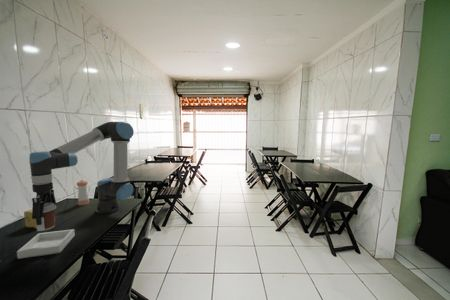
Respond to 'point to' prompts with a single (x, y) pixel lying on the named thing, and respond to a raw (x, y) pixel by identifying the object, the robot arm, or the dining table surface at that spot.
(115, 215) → the dining table surface
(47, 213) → the coffee cup
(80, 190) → the salt shaker
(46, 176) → the robot arm
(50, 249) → the white square tray
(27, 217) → the cheese
